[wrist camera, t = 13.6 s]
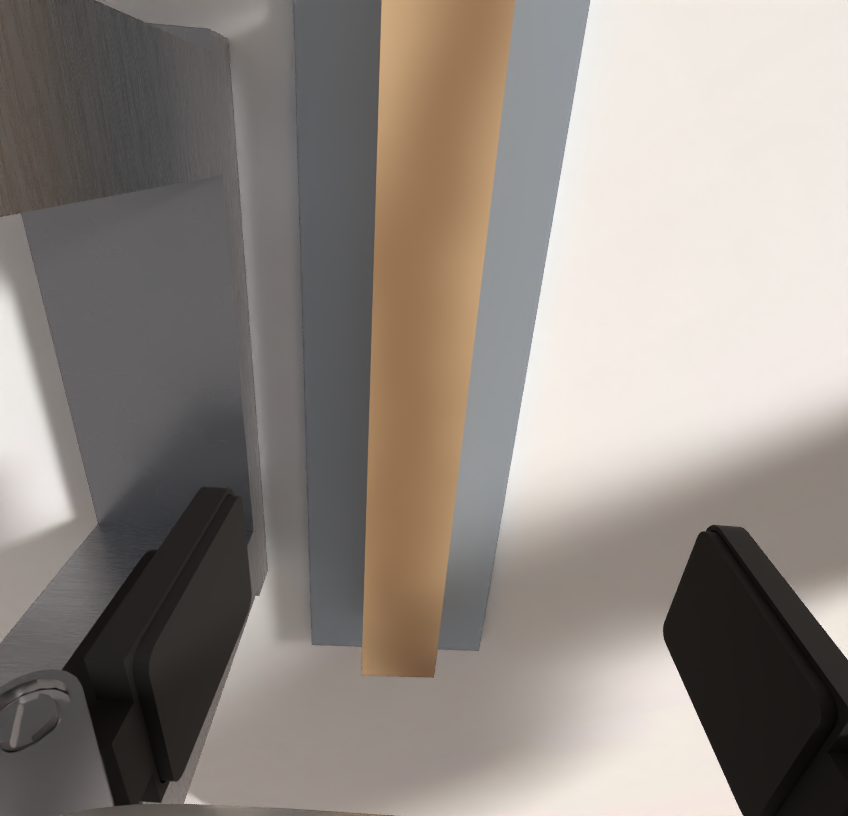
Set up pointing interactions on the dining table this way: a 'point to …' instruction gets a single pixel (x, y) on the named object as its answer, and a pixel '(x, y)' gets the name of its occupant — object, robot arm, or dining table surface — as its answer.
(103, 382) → the rail rack
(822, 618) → the dining table surface
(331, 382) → the mat
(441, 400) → the rail
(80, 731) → the robot arm
